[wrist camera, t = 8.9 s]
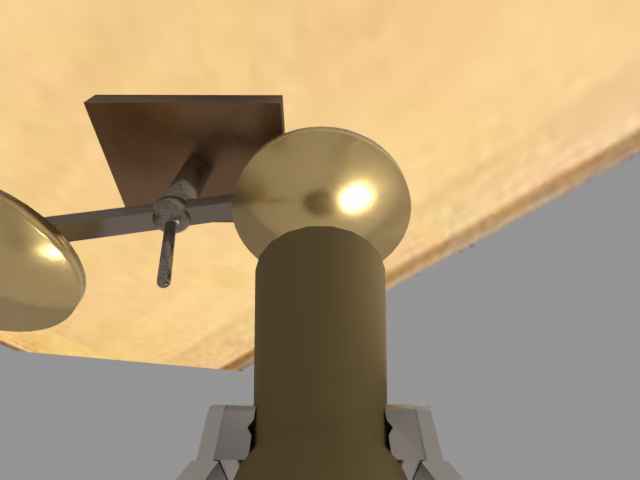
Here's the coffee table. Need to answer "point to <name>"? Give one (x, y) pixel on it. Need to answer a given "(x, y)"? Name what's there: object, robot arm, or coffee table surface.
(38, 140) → the coffee table surface
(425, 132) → the coffee table surface
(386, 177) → the balance
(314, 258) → the olive brown pawn
